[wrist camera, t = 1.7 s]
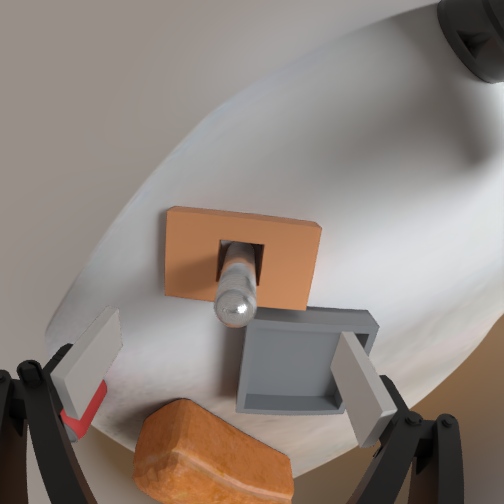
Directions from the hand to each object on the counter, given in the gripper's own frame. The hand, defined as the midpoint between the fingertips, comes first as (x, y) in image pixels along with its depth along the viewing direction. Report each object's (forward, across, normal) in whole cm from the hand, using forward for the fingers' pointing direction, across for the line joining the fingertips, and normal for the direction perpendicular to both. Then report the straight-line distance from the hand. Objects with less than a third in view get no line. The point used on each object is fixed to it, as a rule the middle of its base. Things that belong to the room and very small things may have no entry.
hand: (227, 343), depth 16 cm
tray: (+16, +9, -13) cm, 23 cm away
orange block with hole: (+16, 0, 0) cm, 16 cm away
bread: (+17, 0, -35) cm, 39 cm away
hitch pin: (+16, 0, 0) cm, 16 cm away
